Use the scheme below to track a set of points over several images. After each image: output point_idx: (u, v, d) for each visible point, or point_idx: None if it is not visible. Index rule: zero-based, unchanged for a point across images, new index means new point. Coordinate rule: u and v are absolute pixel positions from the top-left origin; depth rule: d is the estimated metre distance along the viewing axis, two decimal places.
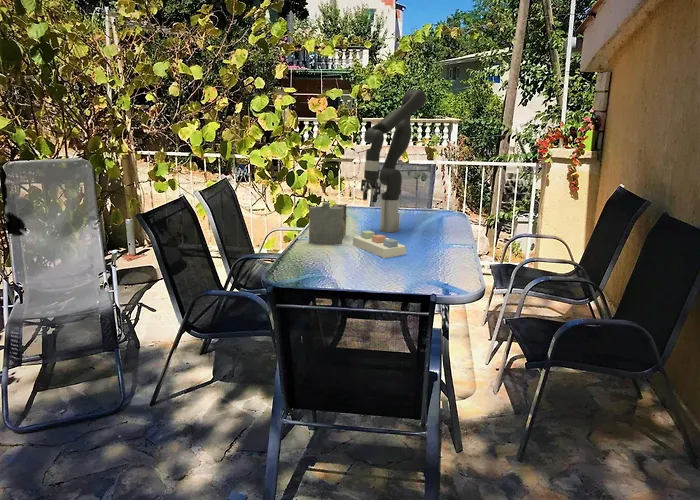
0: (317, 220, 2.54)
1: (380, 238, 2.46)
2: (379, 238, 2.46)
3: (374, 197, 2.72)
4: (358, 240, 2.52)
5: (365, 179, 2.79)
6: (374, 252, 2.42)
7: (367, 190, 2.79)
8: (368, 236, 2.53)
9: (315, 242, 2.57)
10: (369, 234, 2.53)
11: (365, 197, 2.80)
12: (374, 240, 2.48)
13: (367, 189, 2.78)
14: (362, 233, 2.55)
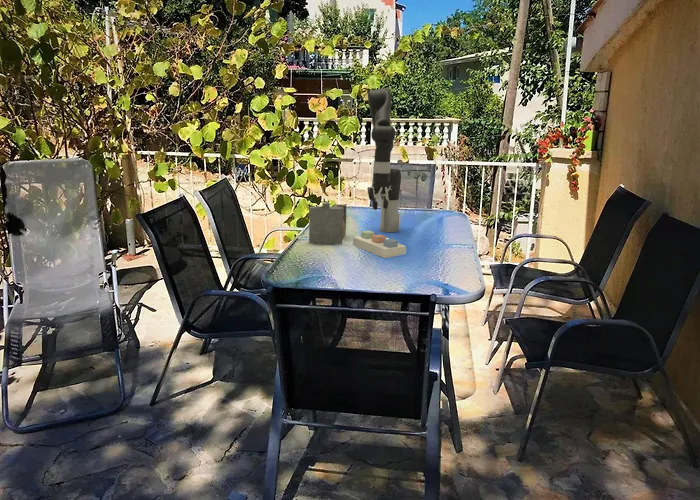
0: (317, 220, 2.54)
1: (380, 238, 2.46)
2: (379, 238, 2.46)
3: (387, 203, 2.45)
4: (358, 240, 2.52)
5: (369, 187, 2.39)
6: (374, 252, 2.42)
7: (375, 197, 2.43)
8: (368, 236, 2.53)
9: (315, 242, 2.57)
10: (369, 234, 2.53)
11: None
12: (374, 240, 2.48)
13: None
14: (362, 233, 2.55)
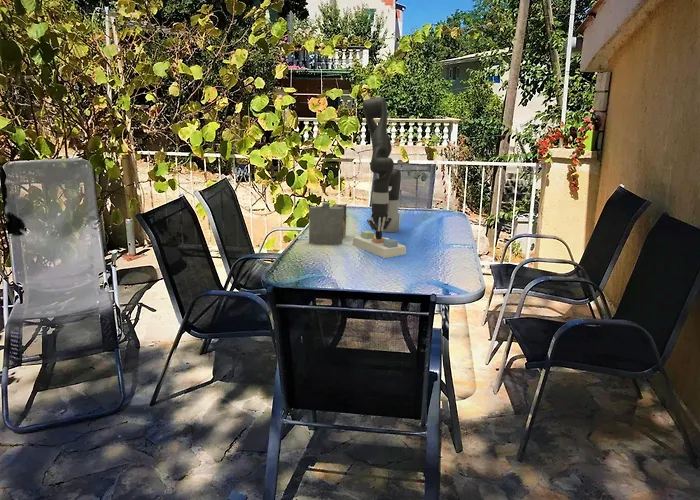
0: (317, 220, 2.54)
1: (380, 241, 2.46)
2: (379, 241, 2.46)
3: (381, 233, 2.48)
4: (358, 240, 2.52)
5: None
6: (374, 252, 2.42)
7: None
8: (368, 236, 2.53)
9: (315, 242, 2.57)
10: (369, 234, 2.53)
11: None
12: None
13: None
14: (362, 233, 2.55)
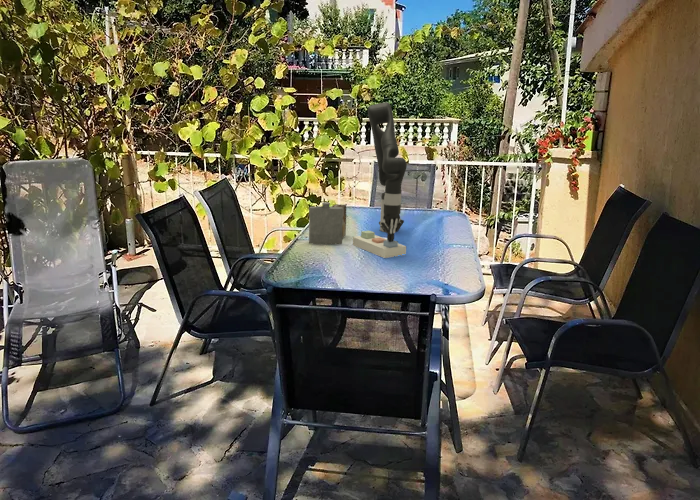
0: (317, 220, 2.54)
1: (380, 241, 2.46)
2: (379, 241, 2.46)
3: (393, 235, 2.40)
4: (358, 240, 2.52)
5: (380, 221, 2.36)
6: (374, 252, 2.42)
7: None
8: (368, 236, 2.53)
9: (315, 242, 2.57)
10: (369, 234, 2.53)
11: None
12: None
13: None
14: (362, 233, 2.55)
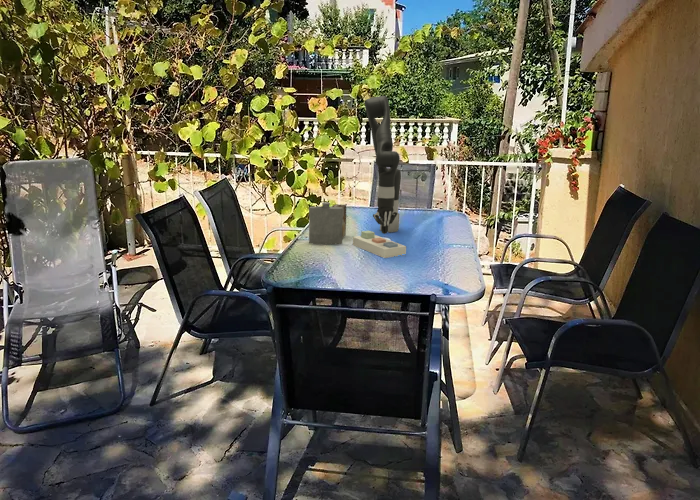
0: (317, 220, 2.54)
1: (380, 241, 2.46)
2: (379, 241, 2.46)
3: (387, 227, 2.45)
4: (358, 240, 2.52)
5: (374, 214, 2.41)
6: (374, 252, 2.42)
7: (383, 221, 2.45)
8: (368, 236, 2.53)
9: (315, 242, 2.57)
10: (369, 234, 2.53)
11: None
12: None
13: None
14: (362, 233, 2.55)
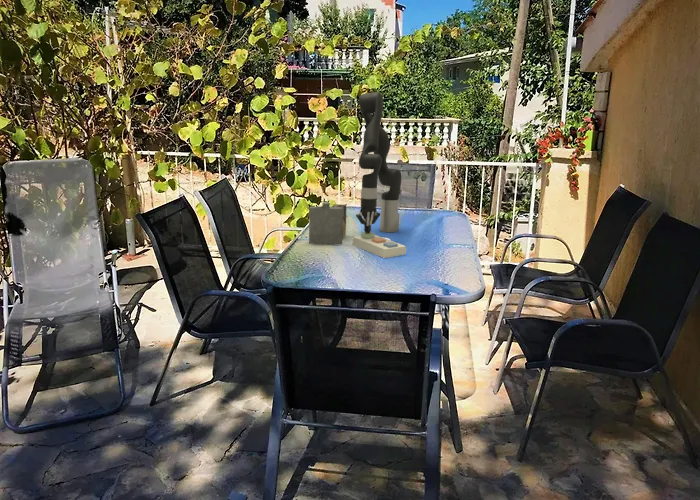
0: (317, 220, 2.54)
1: (380, 241, 2.46)
2: (379, 241, 2.46)
3: (370, 227, 2.55)
4: (358, 240, 2.52)
5: (357, 214, 2.51)
6: (374, 252, 2.42)
7: None
8: (368, 237, 2.53)
9: (315, 242, 2.57)
10: (369, 235, 2.53)
11: None
12: None
13: None
14: (362, 234, 2.55)
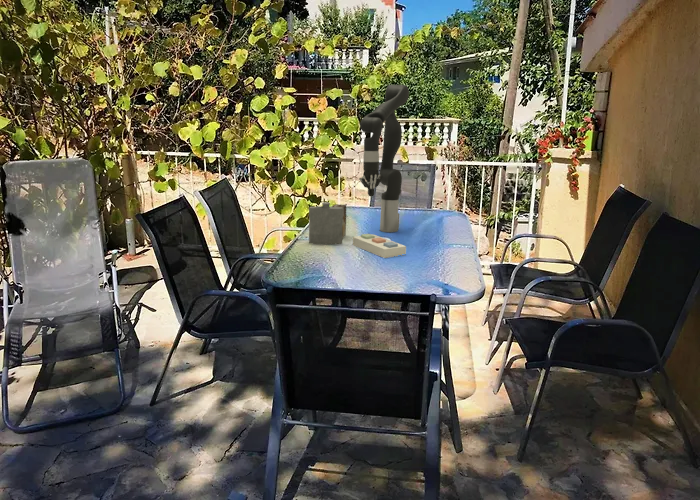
0: (317, 220, 2.54)
1: (380, 241, 2.46)
2: (379, 241, 2.46)
3: (373, 190, 2.60)
4: (358, 240, 2.52)
5: None
6: (374, 252, 2.42)
7: None
8: None
9: (315, 242, 2.57)
10: (369, 237, 2.54)
11: None
12: None
13: None
14: (362, 236, 2.56)
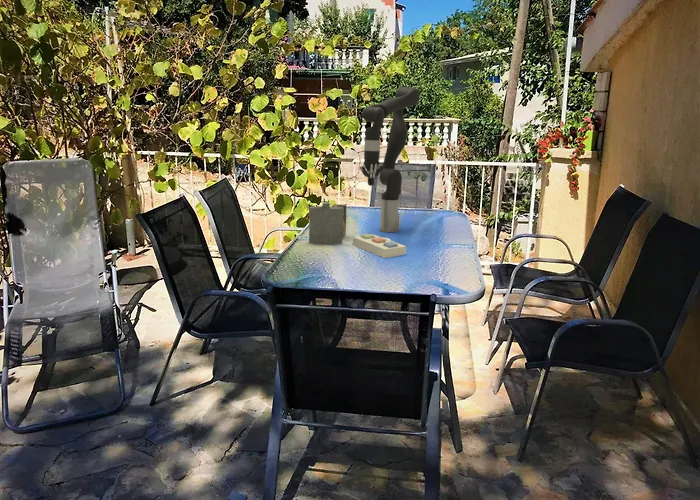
0: (317, 220, 2.54)
1: (380, 241, 2.46)
2: (379, 241, 2.46)
3: (373, 180, 2.62)
4: (358, 240, 2.52)
5: (360, 166, 2.58)
6: (374, 252, 2.42)
7: None
8: None
9: (315, 242, 2.57)
10: (369, 237, 2.54)
11: None
12: None
13: None
14: (362, 236, 2.56)
